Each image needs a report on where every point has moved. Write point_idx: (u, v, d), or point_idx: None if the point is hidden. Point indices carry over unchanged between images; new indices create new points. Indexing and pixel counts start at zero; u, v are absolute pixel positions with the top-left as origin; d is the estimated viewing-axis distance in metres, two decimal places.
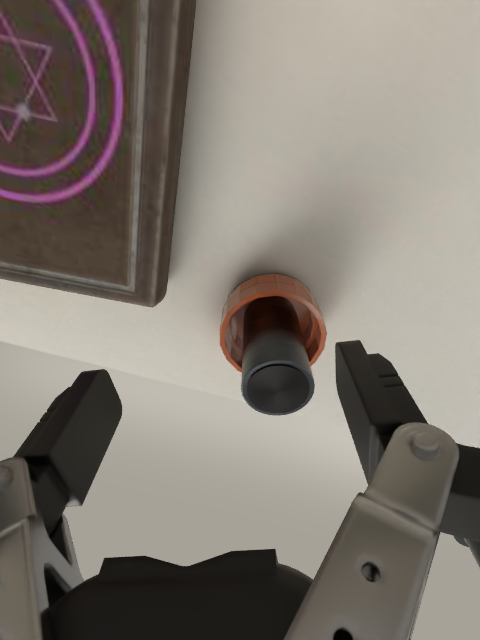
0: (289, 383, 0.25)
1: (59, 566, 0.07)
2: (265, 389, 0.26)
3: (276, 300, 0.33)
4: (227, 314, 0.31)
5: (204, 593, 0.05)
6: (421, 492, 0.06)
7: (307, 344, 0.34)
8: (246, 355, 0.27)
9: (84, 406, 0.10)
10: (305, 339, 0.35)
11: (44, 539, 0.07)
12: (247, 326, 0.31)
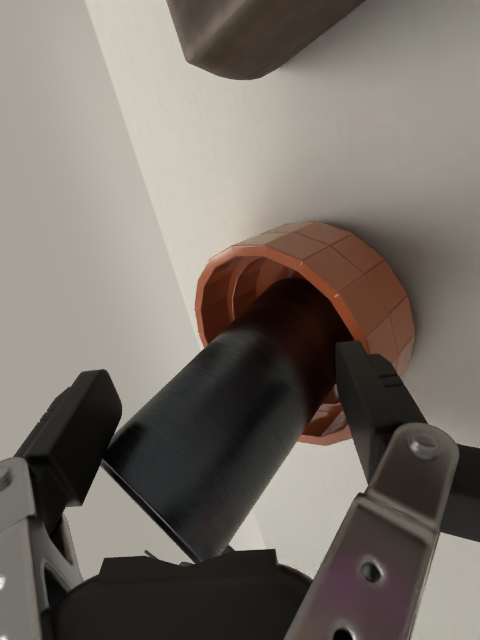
0: None
1: (59, 566, 0.07)
2: None
3: (343, 337, 0.15)
4: (264, 246, 0.13)
5: (204, 593, 0.05)
6: (421, 492, 0.06)
7: None
8: (171, 408, 0.11)
9: (84, 406, 0.10)
10: None
11: (44, 539, 0.07)
12: (251, 330, 0.14)
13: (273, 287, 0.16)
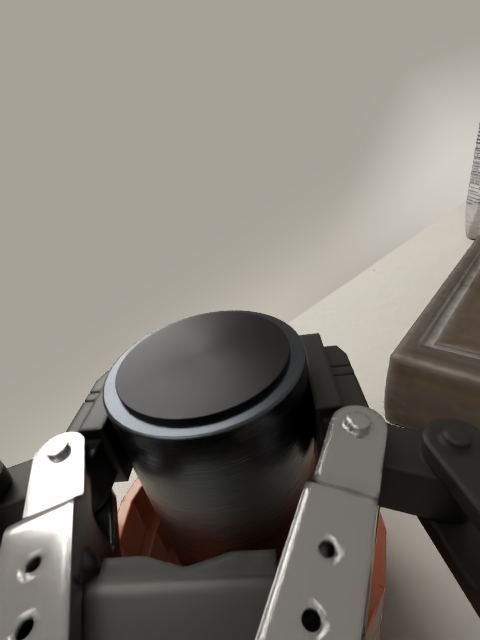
0: (206, 377, 0.08)
1: (100, 548, 0.07)
2: (223, 335, 0.10)
3: None
4: None
5: (204, 593, 0.05)
6: (347, 465, 0.07)
7: None
8: None
9: None
10: None
11: (89, 520, 0.07)
12: None
13: None
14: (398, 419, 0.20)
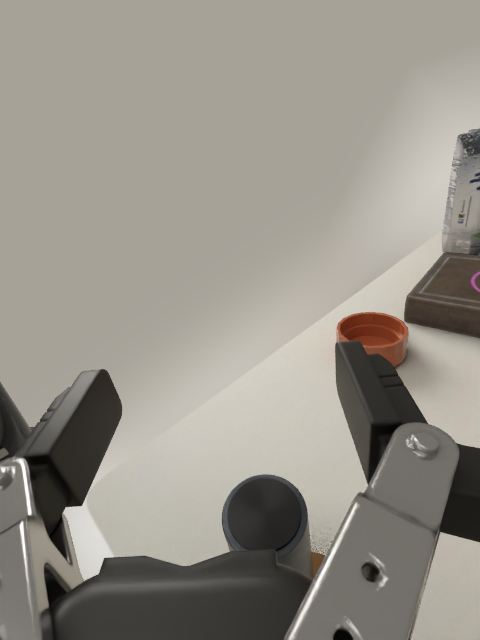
0: (268, 528, 0.21)
1: (59, 566, 0.07)
2: (271, 498, 0.22)
3: None
4: (394, 317, 0.52)
5: (204, 593, 0.05)
6: (421, 492, 0.06)
7: None
8: None
9: (84, 406, 0.10)
10: None
11: (44, 539, 0.07)
12: None
13: None
14: (409, 319, 0.58)
